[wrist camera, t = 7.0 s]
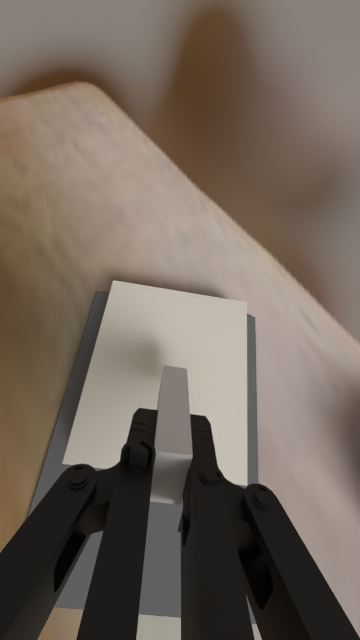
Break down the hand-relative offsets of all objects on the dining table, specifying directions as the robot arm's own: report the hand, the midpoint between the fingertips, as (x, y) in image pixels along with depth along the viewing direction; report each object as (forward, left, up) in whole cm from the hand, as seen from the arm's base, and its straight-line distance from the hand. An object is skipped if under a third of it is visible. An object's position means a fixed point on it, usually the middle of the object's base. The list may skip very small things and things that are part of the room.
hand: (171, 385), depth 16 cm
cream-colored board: (+3, -4, -4) cm, 7 cm away
